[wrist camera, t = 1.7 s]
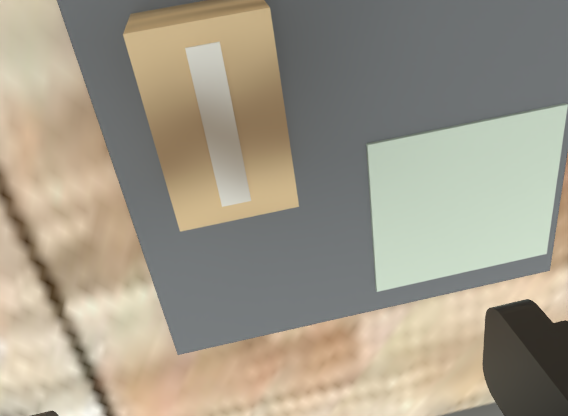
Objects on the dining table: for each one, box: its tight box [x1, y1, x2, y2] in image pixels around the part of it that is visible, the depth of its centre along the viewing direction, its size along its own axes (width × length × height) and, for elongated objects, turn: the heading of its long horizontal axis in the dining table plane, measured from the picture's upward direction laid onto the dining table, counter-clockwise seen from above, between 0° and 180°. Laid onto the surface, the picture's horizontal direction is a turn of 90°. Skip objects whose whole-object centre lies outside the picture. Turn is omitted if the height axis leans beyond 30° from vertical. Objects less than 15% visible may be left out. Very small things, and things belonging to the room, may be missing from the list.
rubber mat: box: [57, 0, 568, 355], centre depth 26 cm, size 20×22×1 cm
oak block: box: [123, 0, 299, 232], centre depth 22 cm, size 8×5×4 cm, turn 8°
